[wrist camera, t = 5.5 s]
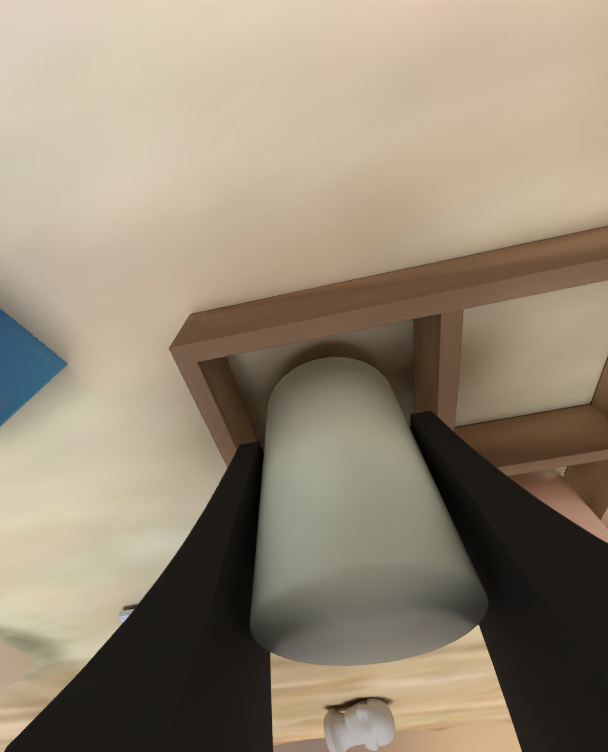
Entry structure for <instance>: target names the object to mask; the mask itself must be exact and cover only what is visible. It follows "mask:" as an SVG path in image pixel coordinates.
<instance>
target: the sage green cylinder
mask: <svg viewBox="0 0 608 752" xmlns="http://www.w3.org/2000/svg"><path fill="white" fill-rule="evenodd" d="M487 608H488V598H487V595H486V593H485V591H484V589H483V587H482V584H481V582H480V580H479V578H478V576H477V573H476V571H475V569H474V567H473V565H472V562H471V560H470V558H469V556H468V554H467V552H466V549H465V547H464V545H463V543H462V541H461V538H460V536H459V534H458V532H457V530H456V527H455V525H454V523H453V521H452V519H451V517H450V514H449V512H448V510H447V508H446V506H445V503H444V501H443V499H442V497H441V495H440V492H439V490H438V488H437V486H436V484H435V481H434V479H433V477H432V475H431V473H430V471H429V468H428V466H427V464H426V462H425V460H424V457H423V455H422V453H421V451H420V449H419V446H418V444H417V442H416V440H415V438H414V436H413V433H412V431H411V429H410V427H409V425H408V422H407V420H406V418H405V416H404V414H403V411H402V409H401V407H400V405H399V403H398V401H397V398H396V396H395V394H394V392H393V390H392V387H391V385H390V383H389V382H388V380H387V379H386V377H385V376H384V375H383V374H382V373H381V372H379V371H378V370H377V369H376V368H374V367H372V366H371V365H369V364H367V363H365V362H362V361H359V360H356V359H352V358H345V357H328V358H321V359H316V360H312V361H310V362H307V363H304V364H302V365H300V366H298V367H296V368H295V369H293V370H291V371H290V372H289V373H287V374H286V375H285V376H284V377H283V378H282V379H281V380H280V381H279V382H278V383H277V385H276V386H275V388H274V389H273V391H272V393H271V395H270V398H269V401H268V408H267V420H266V432H265V444H264V457H263V469H262V481H261V494H260V506H259V518H258V531H257V543H256V555H255V567H254V580H253V592H252V604H251V617H250V631H251V634H252V636H253V638H254V639H255V640H256V641H257V643H258V644H260V645H261V646H262V647H263V648H265V649H266V650H268V651H270V652H272V653H274V654H276V655H278V656H281V657H284V658H287V659H291V660H295V661H299V662H304V663H310V664H319V665H334V666H351V665H367V664H377V663H384V662H390V661H396V660H401V659H405V658H410V657H414V656H417V655H421V654H424V653H427V652H430V651H433V650H436V649H438V648H441V647H443V646H446V645H448V644H450V643H452V642H454V641H456V640H457V639H459V638H461V637H463V636H464V635H466V634H467V633H468V632H470V631H471V630H472V629H474V628H475V627H476V626H477V625H478V624H479V623H480V621H481V620H482V619H483V618H484V616H485V614H486V612H487Z"/></svg>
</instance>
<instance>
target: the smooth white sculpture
mask: <svg viewBox="0 0 608 752" xmlns="http://www.w3.org/2000/svg"><path fill="white" fill-rule="evenodd" d="M324 732H325V738H326V741H327V745H328V748H329V751H330V752H345V751H346V750H347V749H348V748H350V747H352V746H355V745H360V744H365V746H366V748H368V749H369V750H372V751H376V750H377V749H378V746H384V745H387V744H388V743H390V742H391V740H392V739H393V737H394V733H395V723H394V718H393V715H392V713H391V711H390V709H389V707H388V706H387V705H386V704H385V703H384V702H383V701H381V700H379V699H376V698H368V699H367V700H366V701H365V700H361V701H359V702H358V703H356V704H354V705H353V706H351V707H349V708H348V709H347V710H346V711H345V713H340V712H339V711H338V710H337V709H336V708H331V709H330V710H329V711H328V713H327V714H326V715H325V717H324Z"/></svg>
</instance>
